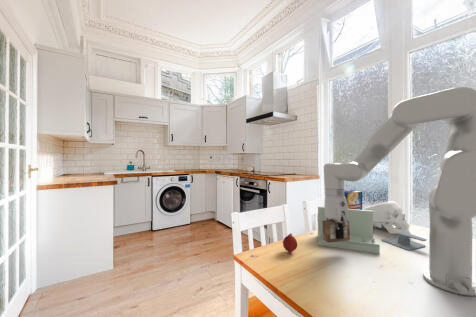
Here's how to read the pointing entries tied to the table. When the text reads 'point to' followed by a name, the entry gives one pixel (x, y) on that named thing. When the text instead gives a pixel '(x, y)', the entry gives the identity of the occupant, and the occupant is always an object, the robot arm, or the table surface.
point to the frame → (334, 231)
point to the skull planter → (389, 217)
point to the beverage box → (353, 199)
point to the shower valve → (405, 241)
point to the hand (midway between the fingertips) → (336, 236)
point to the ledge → (353, 231)
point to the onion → (290, 243)
